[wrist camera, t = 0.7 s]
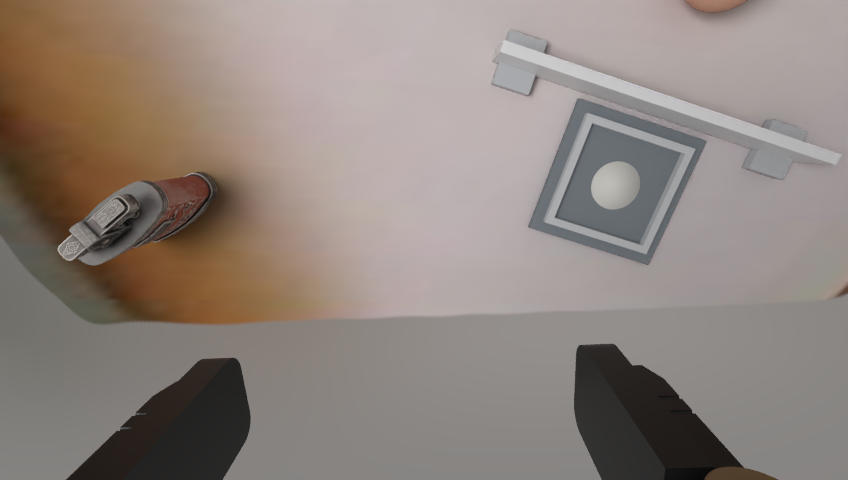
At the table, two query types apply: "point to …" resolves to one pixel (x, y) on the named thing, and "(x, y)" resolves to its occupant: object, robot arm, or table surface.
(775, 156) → the low wall
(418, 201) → the table surface
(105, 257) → the lighter
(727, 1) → the rubber ball
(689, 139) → the slate mat
